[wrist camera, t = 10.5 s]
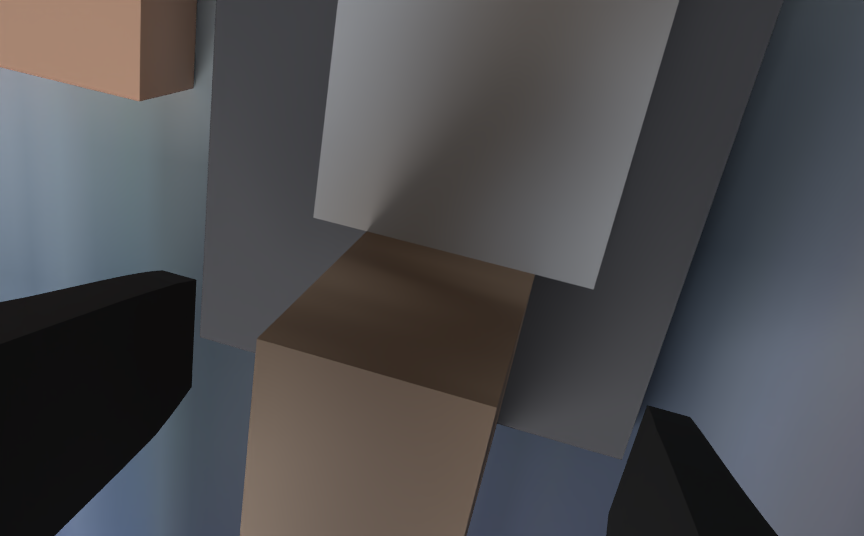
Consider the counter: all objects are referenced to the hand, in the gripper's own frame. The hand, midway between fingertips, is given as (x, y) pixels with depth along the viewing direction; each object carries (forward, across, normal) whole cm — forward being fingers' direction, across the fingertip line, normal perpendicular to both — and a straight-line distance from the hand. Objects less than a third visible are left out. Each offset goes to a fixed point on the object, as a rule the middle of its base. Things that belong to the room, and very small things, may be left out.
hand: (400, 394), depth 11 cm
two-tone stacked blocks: (+3, 0, -4) cm, 5 cm away
